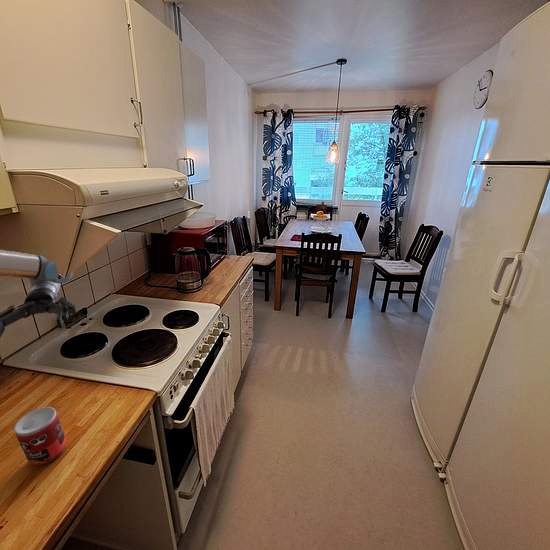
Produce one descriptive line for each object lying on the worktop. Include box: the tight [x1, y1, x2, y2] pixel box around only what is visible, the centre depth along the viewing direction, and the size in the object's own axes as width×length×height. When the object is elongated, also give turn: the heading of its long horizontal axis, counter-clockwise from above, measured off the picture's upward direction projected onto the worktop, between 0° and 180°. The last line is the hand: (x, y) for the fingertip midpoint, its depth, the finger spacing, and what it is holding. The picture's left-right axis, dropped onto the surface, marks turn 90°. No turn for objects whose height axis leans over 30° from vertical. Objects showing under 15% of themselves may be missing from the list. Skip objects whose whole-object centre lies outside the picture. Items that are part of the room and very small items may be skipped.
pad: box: [37, 450, 64, 467], centre depth 73 cm, size 6×6×1 cm
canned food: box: [13, 406, 67, 466], centre depth 71 cm, size 8×8×11 cm
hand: (28, 330), depth 76 cm, fingers open, 13 cm apart
